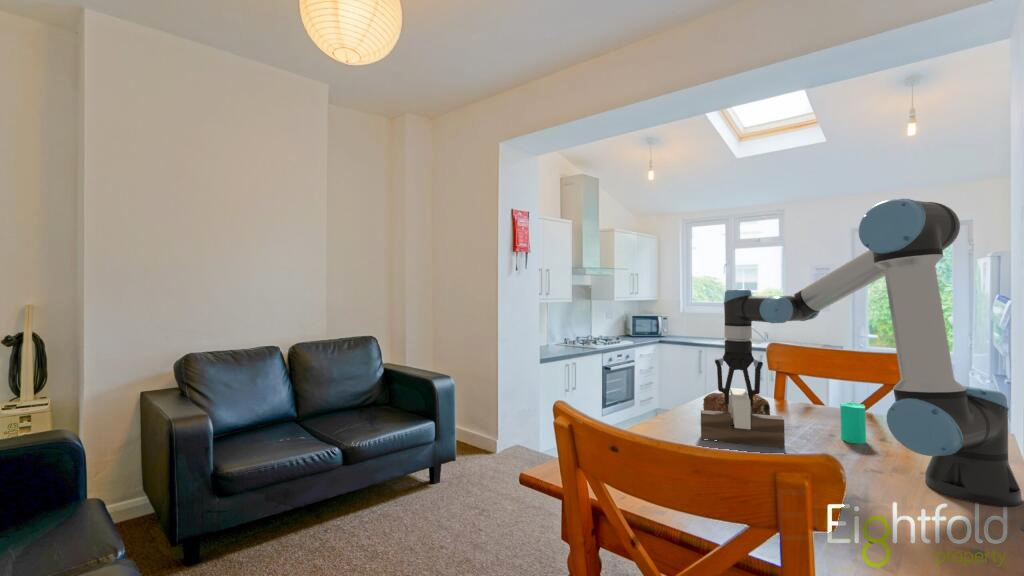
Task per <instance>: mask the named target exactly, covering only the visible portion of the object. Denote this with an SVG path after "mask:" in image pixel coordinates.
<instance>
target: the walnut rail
mask: <svg viewBox="0 0 1024 576" xmlns="http://www.w3.org/2000/svg"><path fill="white" fill-rule="evenodd" d="M785 435H786V434H785V418H784V417H783V416H782V415H772V414H770V415H760V414H751V429H741V428H735V427H734V426H731V413H730V412H719V411H706V410H704V409H700V440H701V439H708V440H717V441H716V442H718V441H724V442H723V443H728V442H731V444H739V443H743V444H742V445H749V444H751V446H760V447H761V446H762V447H770V446H772V448H773V447H774V448H783V449H785V448H786V447H785V445H786V444H785V438H786V437H785Z"/></svg>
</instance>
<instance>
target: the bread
mask: <svg viewBox="0 0 1024 576" xmlns="http://www.w3.org/2000/svg"><path fill="white" fill-rule="evenodd" d="M729 393H731V391H729ZM702 400H703V404H702V406H703V407H702V408H703V410H706V411H719V412H729V409H728V404H725V401H724V393H723V392H719V393H718V392H712V393H709V394H707V395H706V396H705V397H704V398H703V399H702ZM770 409H771V408H770V404H769V401H768V400H767V399H765V398H763V397H762V396H760V395H759V394H755V395H753V406H750V414H760V415H771V410H770ZM731 425H734V423H733V418H732V416H731Z"/></svg>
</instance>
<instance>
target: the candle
mask: <svg viewBox="0 0 1024 576" xmlns="http://www.w3.org/2000/svg"><path fill="white" fill-rule="evenodd" d="M851 401H852V402H844V403H840V405H839V406H840V407H839V408H840V409H839V410H840V411H839V412H840V439H841V440H842V441H844V442H847V443H853V444H860V445H861V444H865V443H866V442H867V429H866V426H867V424H866V423H867V422H866V418H867V417H866V406H865V404H861V403H856V402H854V399H852V400H851Z"/></svg>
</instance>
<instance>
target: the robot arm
mask: <svg viewBox="0 0 1024 576" xmlns="http://www.w3.org/2000/svg"><path fill="white" fill-rule="evenodd" d="M960 228H961V222H960V219H959V217H958V214H957V213H955V211H954V210H953V209H952V208H950V207H949V206H947V205H945V204H942V203H940V202H932V201H920V200H914V199H911V198H899V199H895V198H894V199H893V198H892V199H888V200H884V201H881V202H879V203H877V204H875V205H873V206H872V207H871V208H869V210H868V211H867V212H865V214H864V215H863V216H862V218H861V220H860V222H859V225H858V237H859V240H860V243H861V244H862V245H863V246H864V247H866V249H867V250H865V251H864V252H862V253H860V254H859V255H856V257H854V258H852V259H850V260H849V261H847V262H845V263H844V264H842V265H839V266H838V267H837V268H835V269H834V270H832V271H830V272H829V273H827V274H825V275H824V276H822V277H820V278H819V279H816V281H814V282H811V283H810V284H809V285H807V286H805V287H804V288H802V289H801V290H799V291H797V292H796V293H794V294H791V295H752V290H751V289H749V288H747V289H745V288H744V289H736V288H735V289H732V288H731V289H726V290H725V292H724V300H723V309H724V310H723V311H724V338H725V340H724V354H723V355H722V357H721V358H715V359H714V363H715V366H716V370H717V371H716V375H717V390H718V392H719V393H724V401H725V404H728V409H729V412H730V413H731V416H732V395H731V385H732V382H733V378H734V377H733V376H734V372H735V371H738V370H739V371H742V374H743V378H744V382H745V387H746V392H747V395H748V397H749V399H750V406H753V395H760V393H761V369H762V367H763V364H764V362H762V360H758V359H755V358H754V356H753V351H752V350H753V347H752V346H753V345H752V337H753V336H752V334H753V331H752V330H753V329H752V325H753V324H752V322H758V323H759V322H761V323H769V324H785V323H787V322H794V321H796V322H798V321H799V322H806V321H810V320H813V319H816V318H817V316H819V313H820V312H821V311H822V310H824V309H825V308H828V307H831V305H833V304H835V303H837V302H839V301H841V300H843V299H844V298H846V297H848V296H850V295H851V294H854V293H856V292H857V291H859V290H862V289H863V288H865V287H867V286H869V285H871V284H873V283H874V282H876V281H877V280H880V279H882V278H883V277H884V279H885V285H886V291H887V297H888V304H889V311H890V312H889V313H890V318H891V324H892V330H893V336H894V343H895V344H894V345H895V350H896V351H895V352H896V357H897V363H898V369H899V371H898V372H899V376H900V380H899V381H898V382H897V383H896V384H895V385H894V386H893V388H892V389H893V396H894V402H893V403H892V404H891V406H890V407H889V408H888V409H887V413H886V423H887V427H888V430H889V432H890V433H891V435H892V436H893V438H894V439H895V440H896V441H898V442H899V443H900V444H901V445H902V446H904V447H905V448H906V449H908V450H909V451H911V452H914V453H916V454H919V455H921V456H927V457H931V458H930V461H929V463H928V466H927V468H926V470H925V473H924V474H925V475H924V477H925V478H924V480H925V484H926V486H928V487H929V488H931V489H932V490H934V491H936V492H939V493H940V494H943V495H946V496H949V497H952V498H954V499H958V500H961V501H962V500H963V501H966V502H971V503H976V504H981V505H986V506H987V505H988V506H995V507H996V506H997V507H1013V506H1014V507H1015V506H1018V505H1021V503H1022V490H1021V488H1020V485H1019V483H1018V482H1017V481H1018V480H1017V479H1016V477H1015V474H1014V472H1013V470H1012V468H1011V465H1010V463H1009V416H1008V415H1009V414H1008V413H1009V412H1008V411H1009V409H1010V408H1009V406H1008V400H1007V399H1008V398H1007V396H1006V395H1005V394H1004V393H1002V392H1001V391H998V390H993V389H986V388H980V387H973V386H966V385H962V384H961V383H960V382H958V381H956V380H955V376H954V371H953V369H954V368H953V364H952V357H951V353H950V346H949V341H948V335H947V329H946V328H947V327H946V321H945V316H944V310H943V304H942V297H941V292H940V286H939V280H938V274H937V269H936V265H937V264H938V263H939V261H941V260H942V259H943V258H944V250H946V249H947V248H948V247H950V246H951V245H952V244H954V242H955V241H956V239H957V238H958V236H959V234H960V230H961V229H960ZM724 363H726V365H727V366H728V371H727V372H728V373H727V377H726V381H725V385H724V387H723V369H722V366H723V364H724ZM752 364H753V367H754V385H753V387H754V389H753V388H752V384H751V380H750V375H749V374H750V373H749V370H748V369H749V367H750V366H751V365H752ZM729 392H730V393H729Z"/></svg>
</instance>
